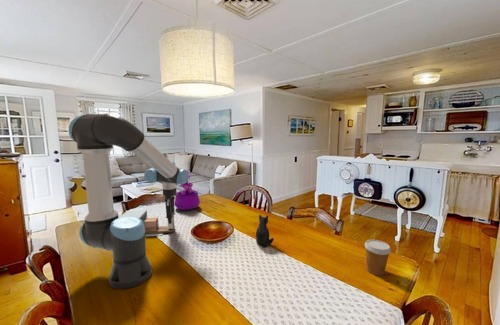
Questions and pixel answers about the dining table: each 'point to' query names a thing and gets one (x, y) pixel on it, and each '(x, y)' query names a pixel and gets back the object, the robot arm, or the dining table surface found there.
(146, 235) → the mat
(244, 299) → the dining table surface
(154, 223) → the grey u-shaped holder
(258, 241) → the figurine
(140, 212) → the tunnel
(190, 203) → the decorative plant
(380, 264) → the disposable coffee cup
